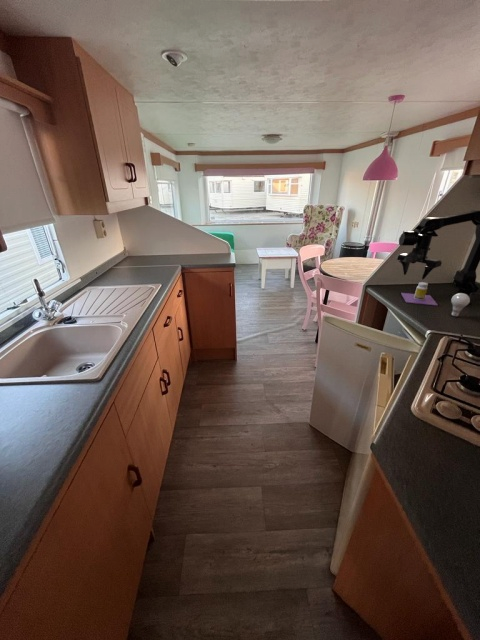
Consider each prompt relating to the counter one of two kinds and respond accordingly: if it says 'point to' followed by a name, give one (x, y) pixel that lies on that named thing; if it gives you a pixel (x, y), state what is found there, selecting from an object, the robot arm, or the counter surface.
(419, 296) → the supplement bottle
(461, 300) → the lightbulb
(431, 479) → the counter surface
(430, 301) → the cloth
